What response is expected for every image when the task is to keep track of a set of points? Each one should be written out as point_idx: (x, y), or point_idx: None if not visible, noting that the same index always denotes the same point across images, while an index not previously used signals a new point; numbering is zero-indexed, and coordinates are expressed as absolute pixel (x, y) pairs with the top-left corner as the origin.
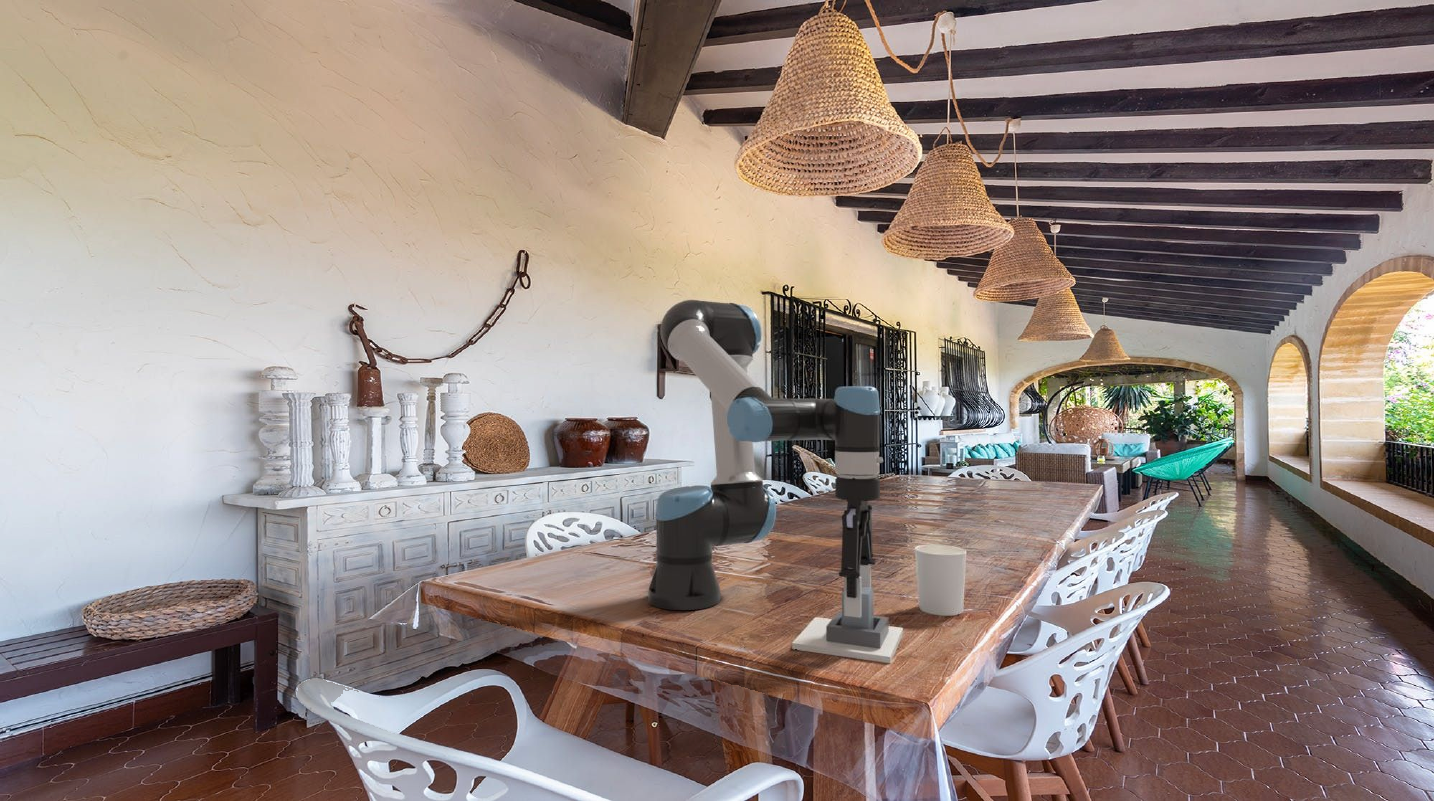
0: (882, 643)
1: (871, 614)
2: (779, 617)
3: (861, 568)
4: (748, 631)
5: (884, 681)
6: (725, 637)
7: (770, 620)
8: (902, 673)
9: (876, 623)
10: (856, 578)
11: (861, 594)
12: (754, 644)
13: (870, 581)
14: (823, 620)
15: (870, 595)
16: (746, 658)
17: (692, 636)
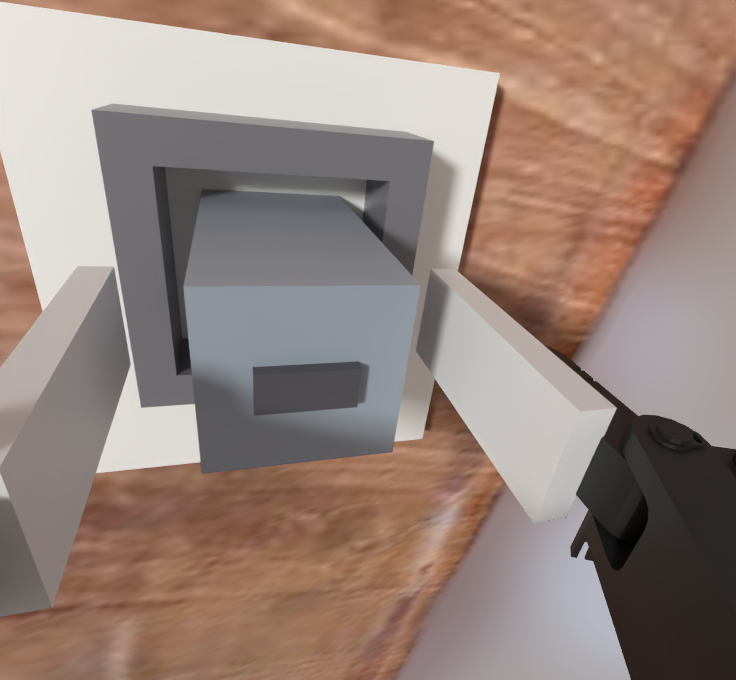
0: (343, 126)
1: (271, 225)
2: (109, 563)
3: (45, 520)
4: (302, 562)
5: (649, 89)
6: (370, 576)
7: (163, 567)
8: (581, 10)
9: (160, 186)
10: (604, 431)
11: (410, 333)
12: (402, 511)
13: (43, 348)
14: (115, 435)
15: (332, 273)
16: (501, 485)
17: (386, 619)
